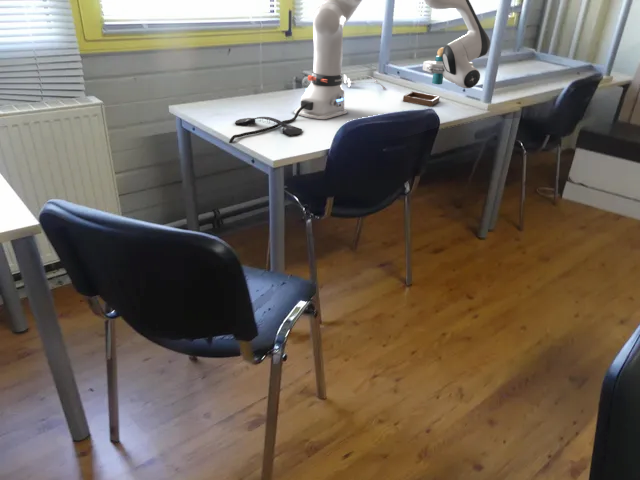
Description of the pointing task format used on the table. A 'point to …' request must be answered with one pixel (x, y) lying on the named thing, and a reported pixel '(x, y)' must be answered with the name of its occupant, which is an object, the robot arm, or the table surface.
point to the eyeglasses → (353, 81)
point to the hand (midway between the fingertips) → (439, 63)
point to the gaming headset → (286, 129)
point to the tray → (421, 98)
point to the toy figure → (438, 76)
